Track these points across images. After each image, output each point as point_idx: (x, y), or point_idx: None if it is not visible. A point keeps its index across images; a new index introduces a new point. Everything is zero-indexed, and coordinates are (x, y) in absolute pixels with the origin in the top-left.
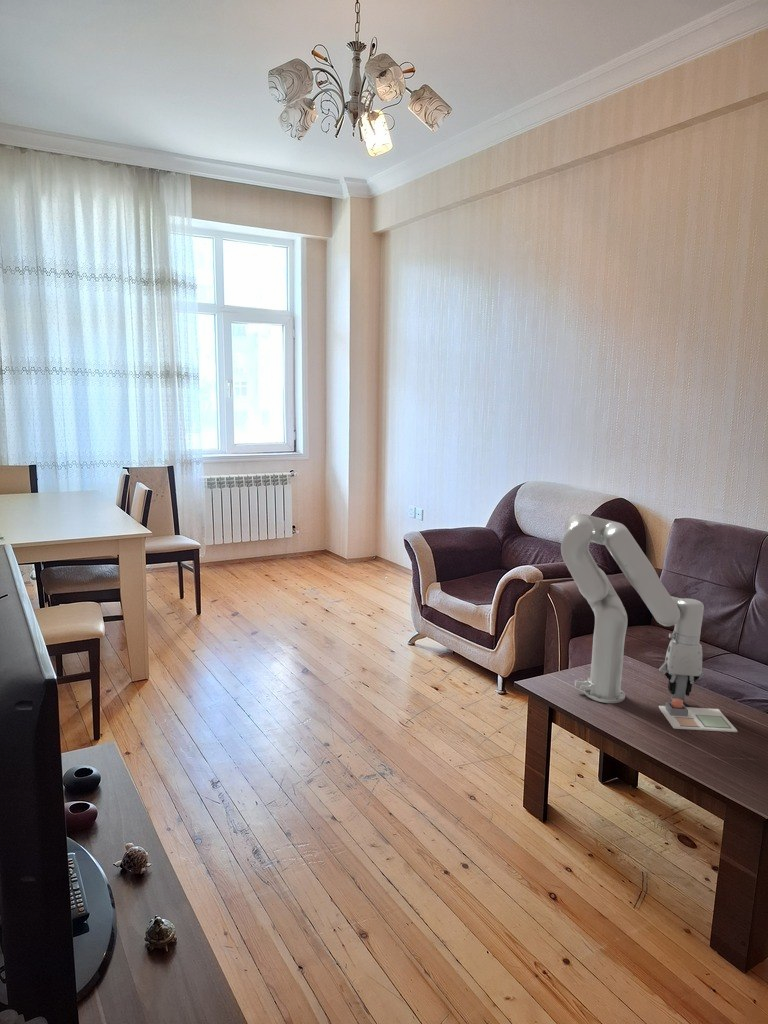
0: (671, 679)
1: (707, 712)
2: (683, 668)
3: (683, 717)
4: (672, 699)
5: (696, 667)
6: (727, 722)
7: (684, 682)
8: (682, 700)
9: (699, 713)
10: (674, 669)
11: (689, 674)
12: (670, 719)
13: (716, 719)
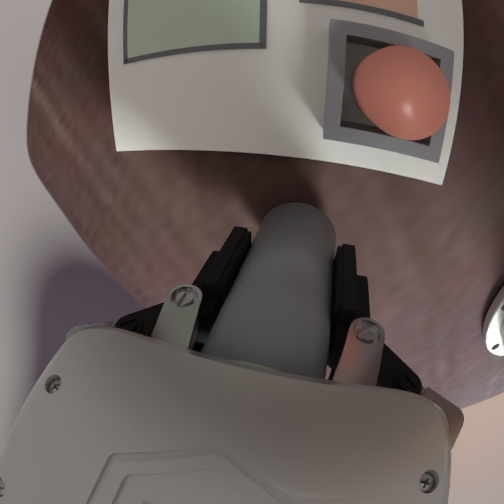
0: (376, 342)
1: (176, 96)
2: (259, 469)
3: (363, 15)
4: (443, 113)
5: (67, 419)
6: (120, 6)
7: (257, 299)
8: (361, 83)
9: (228, 73)
10: (400, 453)
11: (185, 362)
12: (452, 10)
13: (159, 15)
